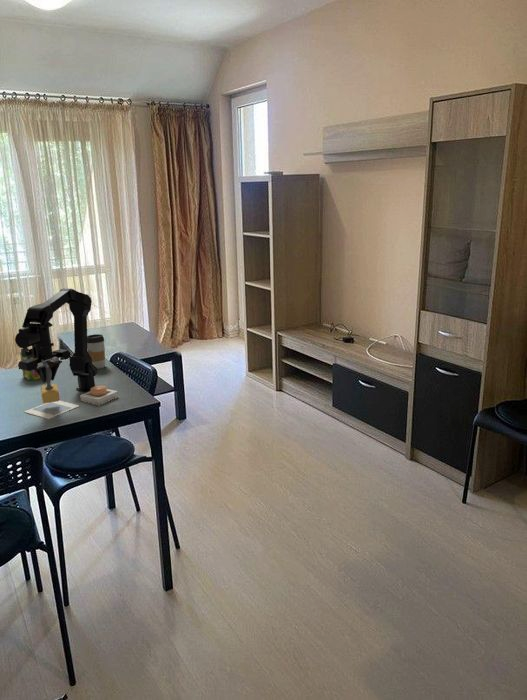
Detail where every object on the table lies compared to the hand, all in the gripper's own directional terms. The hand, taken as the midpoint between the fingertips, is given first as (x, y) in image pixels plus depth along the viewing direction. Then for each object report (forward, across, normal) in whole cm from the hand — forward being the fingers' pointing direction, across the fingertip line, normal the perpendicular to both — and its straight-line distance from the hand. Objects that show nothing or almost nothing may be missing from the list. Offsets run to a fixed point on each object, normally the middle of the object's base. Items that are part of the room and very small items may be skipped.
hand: (48, 381), depth 199 cm
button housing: (+11, -16, +8) cm, 21 cm away
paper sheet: (+11, 0, 0) cm, 11 cm away
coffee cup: (+12, -46, -26) cm, 54 cm away
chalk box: (+12, -23, -40) cm, 47 cm away
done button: (+9, -16, +8) cm, 20 cm away
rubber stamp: (+7, 0, 0) cm, 7 cm away
